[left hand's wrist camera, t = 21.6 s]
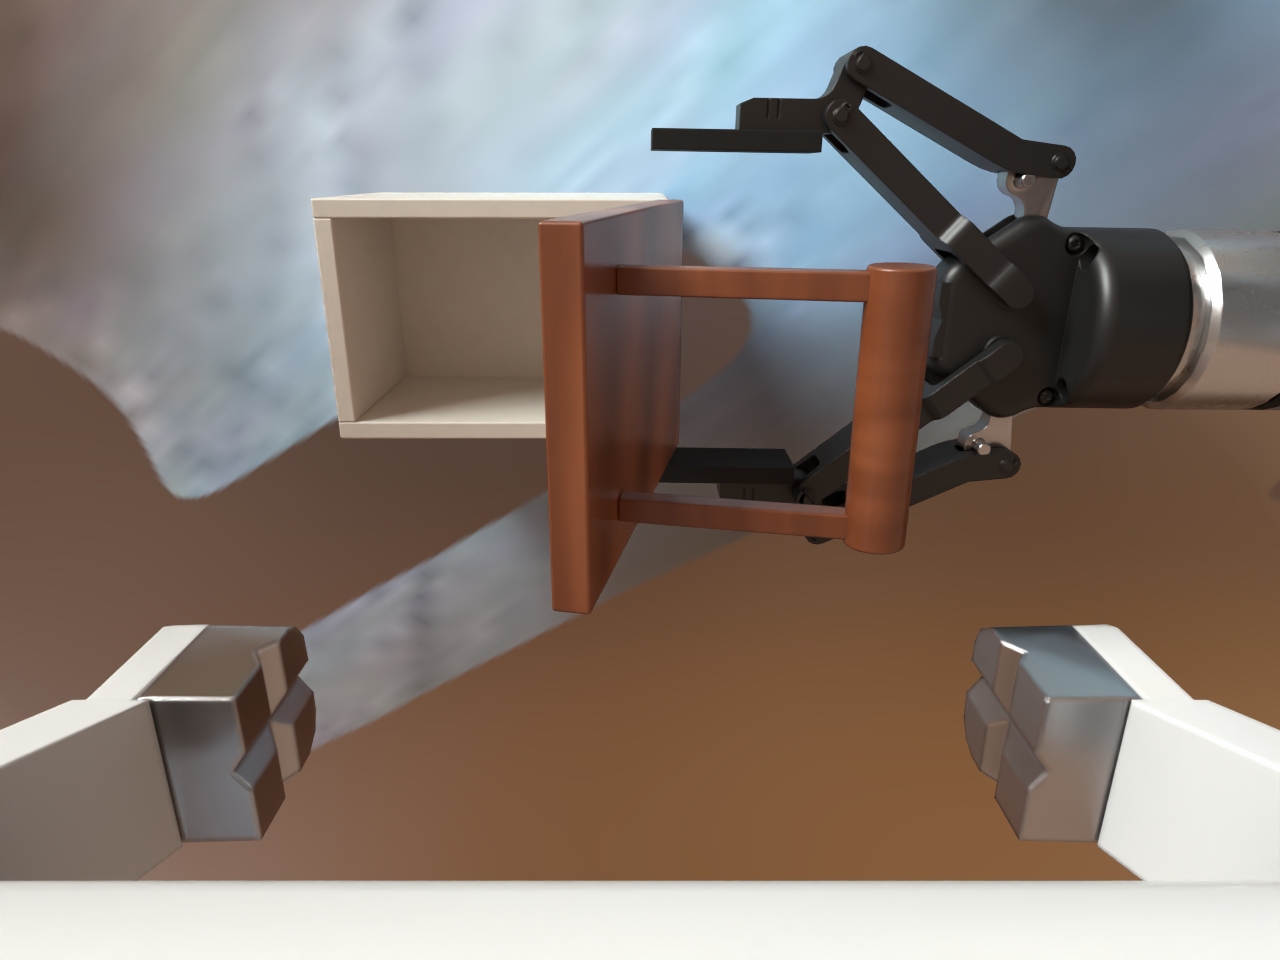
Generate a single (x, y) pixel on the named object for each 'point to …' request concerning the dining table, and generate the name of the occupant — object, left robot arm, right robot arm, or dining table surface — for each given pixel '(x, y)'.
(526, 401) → the chest
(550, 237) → the lid
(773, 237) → the dining table surface
